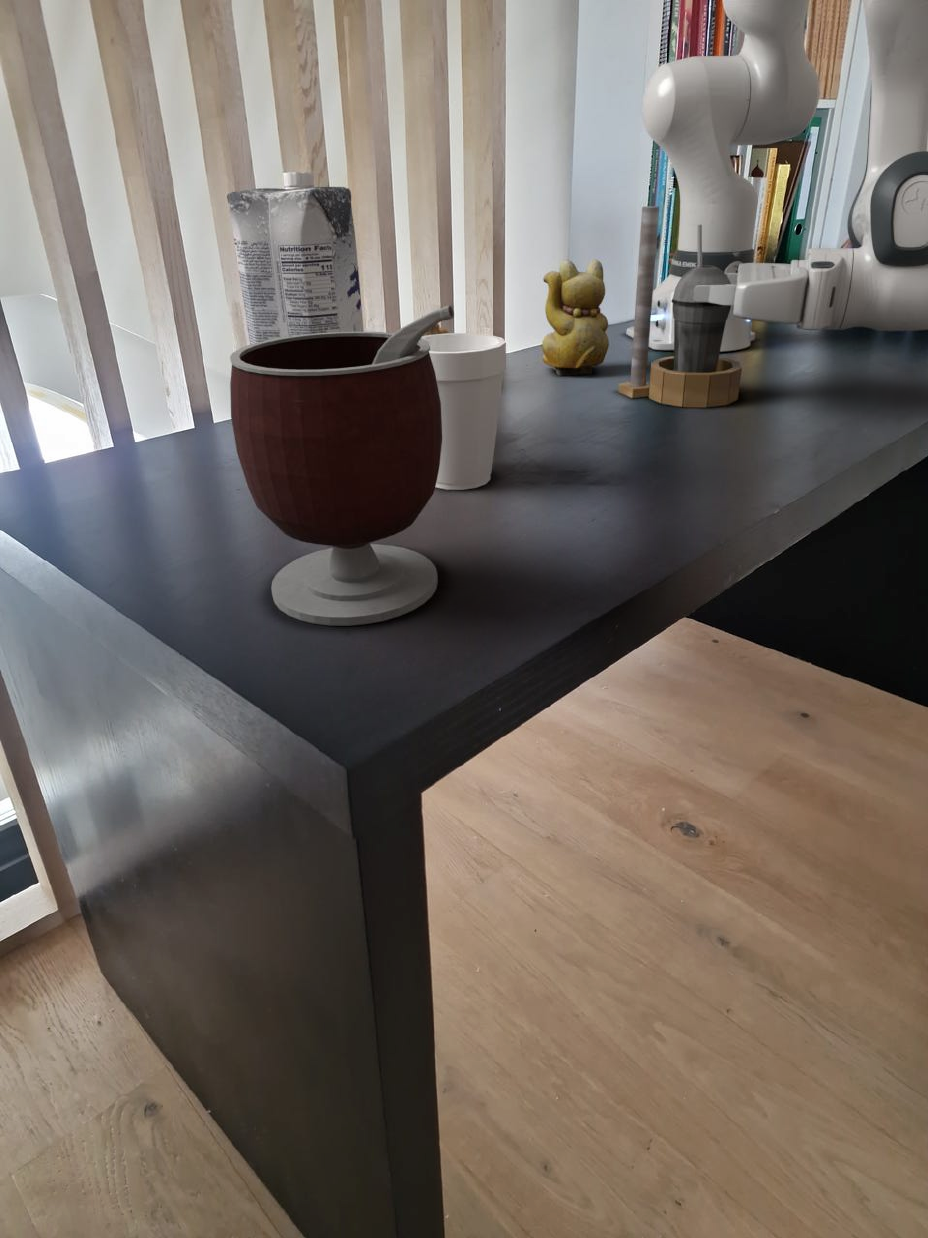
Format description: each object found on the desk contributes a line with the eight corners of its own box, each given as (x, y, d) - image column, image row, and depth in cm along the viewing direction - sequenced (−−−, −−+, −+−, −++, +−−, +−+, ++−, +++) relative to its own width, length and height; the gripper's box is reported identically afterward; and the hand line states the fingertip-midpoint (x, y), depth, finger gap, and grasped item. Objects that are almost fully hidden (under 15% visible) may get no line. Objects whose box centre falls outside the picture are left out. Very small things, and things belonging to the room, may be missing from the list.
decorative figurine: (594, 363, 125) (599, 255, 118) (619, 374, 118) (627, 260, 111) (535, 369, 122) (536, 259, 115) (557, 381, 116) (560, 265, 108)
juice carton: (344, 470, 85) (313, 171, 72) (257, 461, 88) (211, 175, 75) (381, 444, 92) (359, 169, 79) (299, 437, 96) (264, 172, 82)
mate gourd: (222, 614, 58) (164, 316, 49) (320, 538, 70) (289, 285, 60) (424, 649, 53) (404, 325, 44) (494, 562, 65) (490, 289, 55)
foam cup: (460, 457, 88) (456, 329, 81) (525, 476, 82) (526, 340, 75) (391, 480, 82) (381, 344, 75) (456, 503, 76) (451, 357, 70)
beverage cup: (723, 403, 103) (745, 225, 93) (663, 402, 104) (678, 226, 95) (719, 389, 109) (739, 221, 99) (663, 388, 110) (677, 222, 101)
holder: (618, 392, 109) (629, 206, 99) (702, 381, 113) (721, 201, 102) (665, 413, 100) (683, 210, 89) (755, 401, 104) (782, 204, 93)
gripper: (816, 250, 104) (702, 250, 108) (829, 271, 87) (694, 270, 91) (807, 303, 107) (697, 301, 111) (818, 333, 90) (688, 330, 94)
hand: (695, 287), depth 100 cm, fingers closed on beverage cup, 7 cm apart
